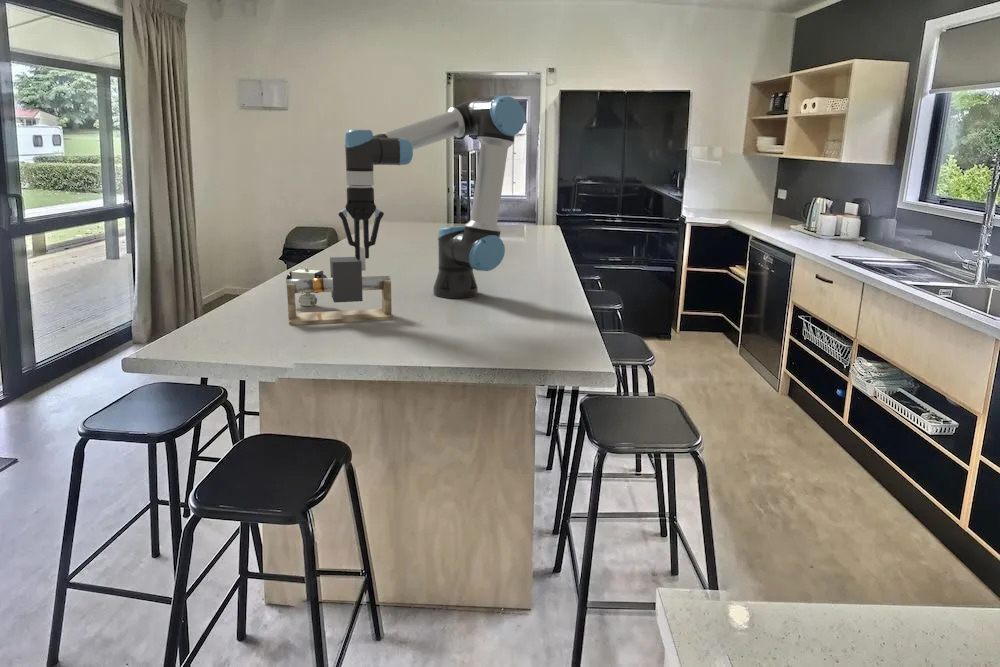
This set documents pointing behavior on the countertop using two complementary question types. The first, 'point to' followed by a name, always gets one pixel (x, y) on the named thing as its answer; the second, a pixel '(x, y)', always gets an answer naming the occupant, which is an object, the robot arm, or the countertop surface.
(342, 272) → the collar
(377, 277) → the pipe
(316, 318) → the pipe rig
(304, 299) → the pneumatic valve
